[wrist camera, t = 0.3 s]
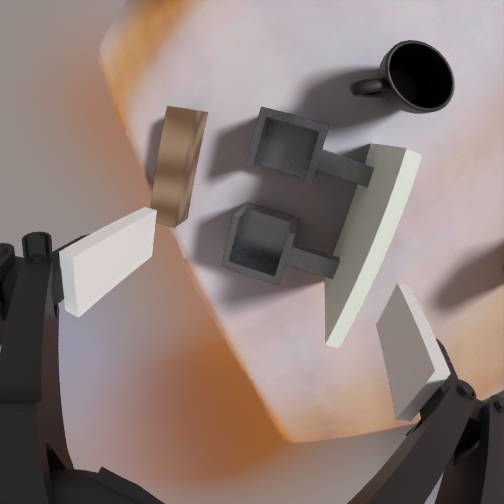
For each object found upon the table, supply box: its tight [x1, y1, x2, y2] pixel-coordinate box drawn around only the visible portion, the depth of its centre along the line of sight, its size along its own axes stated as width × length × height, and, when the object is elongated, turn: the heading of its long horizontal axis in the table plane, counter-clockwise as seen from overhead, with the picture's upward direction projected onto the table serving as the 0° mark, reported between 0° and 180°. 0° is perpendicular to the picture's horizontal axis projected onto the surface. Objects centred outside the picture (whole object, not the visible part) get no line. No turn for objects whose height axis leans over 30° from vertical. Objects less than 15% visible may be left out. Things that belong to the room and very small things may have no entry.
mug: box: [350, 40, 455, 114], centre depth 27 cm, size 8×12×10 cm
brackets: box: [221, 107, 374, 285], centre depth 36 cm, size 20×14×7 cm
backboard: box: [324, 143, 422, 348], centre depth 32 cm, size 20×2×16 cm, turn 165°
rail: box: [151, 106, 208, 228], centre depth 39 cm, size 16×4×5 cm, turn 166°
